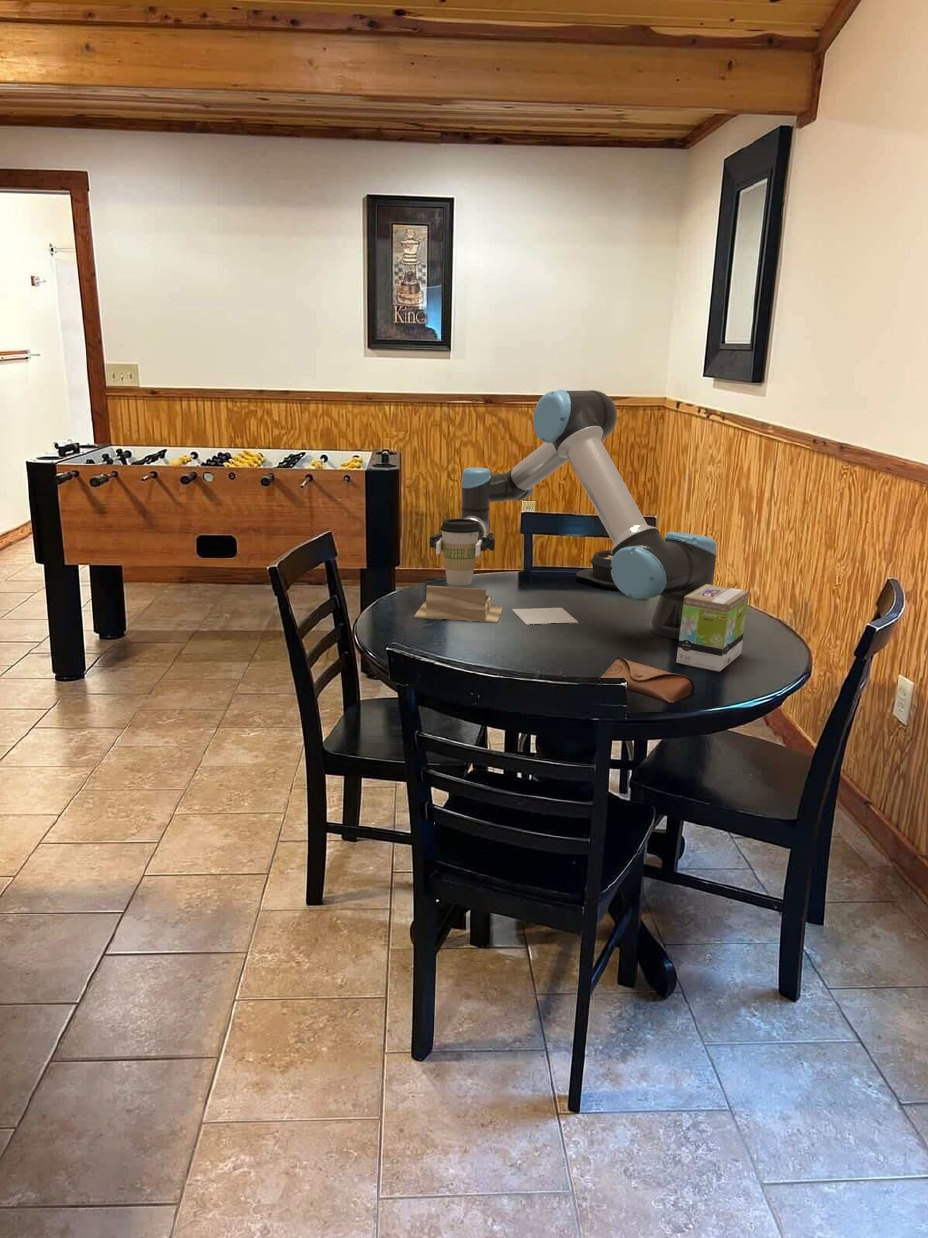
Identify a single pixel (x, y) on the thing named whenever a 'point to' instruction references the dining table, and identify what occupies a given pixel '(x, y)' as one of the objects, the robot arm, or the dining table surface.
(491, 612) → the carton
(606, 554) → the black brimmed hat
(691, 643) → the tea box
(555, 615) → the mat
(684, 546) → the robot arm
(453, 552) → the coffee cup
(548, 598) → the dining table surface
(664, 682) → the sunglasses case
